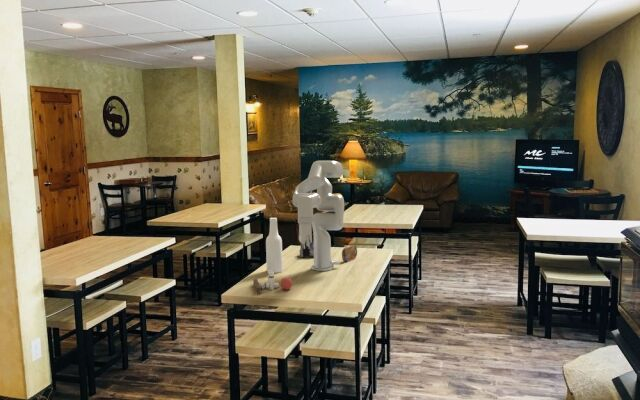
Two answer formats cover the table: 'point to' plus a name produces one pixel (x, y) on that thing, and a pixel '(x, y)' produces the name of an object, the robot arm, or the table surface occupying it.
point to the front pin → (265, 286)
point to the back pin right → (268, 274)
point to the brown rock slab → (349, 253)
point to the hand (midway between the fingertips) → (306, 256)
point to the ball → (286, 283)
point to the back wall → (257, 286)
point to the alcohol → (274, 248)
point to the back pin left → (271, 280)
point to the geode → (310, 250)
